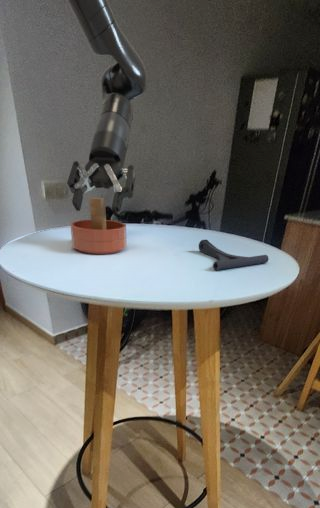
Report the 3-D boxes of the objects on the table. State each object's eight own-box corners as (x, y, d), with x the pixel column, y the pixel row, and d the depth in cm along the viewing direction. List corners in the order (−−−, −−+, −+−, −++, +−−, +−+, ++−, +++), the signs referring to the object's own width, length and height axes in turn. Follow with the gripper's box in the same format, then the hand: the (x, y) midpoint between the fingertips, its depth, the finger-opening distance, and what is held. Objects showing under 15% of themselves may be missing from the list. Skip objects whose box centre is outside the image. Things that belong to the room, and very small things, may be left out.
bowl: (64, 251, 80) (61, 227, 77) (84, 240, 90) (82, 217, 87) (117, 257, 79) (116, 232, 76) (132, 245, 88) (132, 222, 85)
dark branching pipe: (223, 248, 90) (224, 236, 88) (267, 263, 80) (270, 250, 78) (175, 254, 83) (176, 241, 82) (217, 272, 73) (219, 257, 72)
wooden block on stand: (85, 246, 82) (81, 198, 77) (93, 242, 86) (90, 195, 81) (107, 249, 82) (105, 200, 76) (114, 244, 86) (112, 197, 80)
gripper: (74, 127, 78) (57, 194, 76) (138, 130, 76) (123, 200, 74) (85, 156, 85) (70, 219, 83) (144, 160, 83) (130, 224, 81)
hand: (95, 210), depth 78 cm, fingers open, 8 cm apart
